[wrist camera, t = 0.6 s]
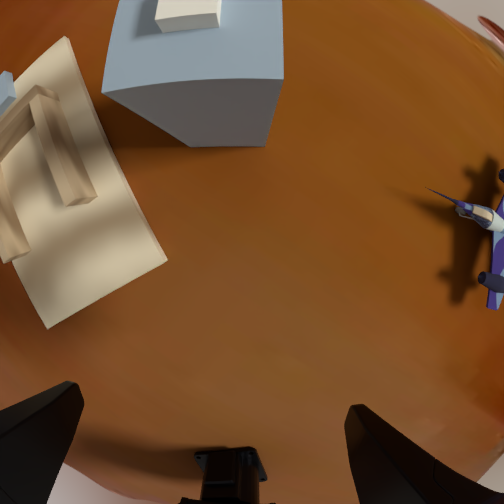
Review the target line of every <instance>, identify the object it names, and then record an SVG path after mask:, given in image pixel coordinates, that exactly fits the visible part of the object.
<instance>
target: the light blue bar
mask: <svg viewBox="0 0 504 504" xmlns="http://www.w3.org/2000/svg"><path fill="white" fill-rule="evenodd" d="M16 98H17V97H16V92H15V87H14V82H13V76H12V73H9V72H6V71H4V72H3V73H2V74H1V75H0V116H1V115H2V114H3V113H4V112H5V111H6V109H7V108H8V107H9V106H10V105H11V104H12V103H13V102H14V101H15V99H16Z"/></svg>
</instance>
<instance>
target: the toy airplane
mask: <svg viewBox="0 0 504 504" xmlns="http://www.w3.org/2000/svg"><path fill="white" fill-rule="evenodd" d="M499 179H500V180H501V181H502V182H503V183H504V169H501V170H500V172H499ZM425 188H426V187H425ZM427 189H428V188H427ZM429 190H431V189H429ZM431 191H433V190H431ZM433 192H435V191H433ZM435 193H437V194H439V195H441V196H443V197H445V198H447V199H449V200H451V201H452V202H454V203H455V204H456V205H458V206H459V207H456V208H455V211H456V212H457V213H459V216H461V217H465V218H469V219H473V220H475V221H476V222H477V223H478V224H479V225H480V226H481V227H482V228H485V229H488V230H489V231H490V232H492V254H491V269H490V273H488V272H481V273H480V274H479V276H478V282H479V283H480V284H482V285H484V286H485V287H487V288H488V297H487V305H486V307H487V308H489V309H493V310H497V309H498V308H499V305H500V302H501V300H502V297H503V294H504V195H503V197H502V199H501V201H500V203H499V205H498V207H497V209H496V211H495V212H494V211H493V210H492V209H491V208H488V207H484V206H480V205H475V204H470V203H465V202H462V201H459V200H455V199H452V198H449V197H447V196H445V195H443V194H440V193H438V192H435ZM466 213H467V214H468V215H470V216H471V217H472V218H470V217H466V216H462V215H465V214H466ZM461 214H462V215H461Z"/></svg>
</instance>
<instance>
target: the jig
mask: <svg viewBox="0 0 504 504" xmlns="http://www.w3.org/2000/svg"><path fill="white" fill-rule="evenodd" d="M14 87H15V92H16V97H17V98H16V99H15V101H14V102H13V103H12V104H11V105H10V106H9V107H8V108H7V109H6V111H5V112H4V113H3V114H2V115H1V116H0V256H1V259H2V261H3V263H4V264H5V263H7V262H10V261H12V263H13V265H14V267H15V270H16V272H17V274H18V276H19V278H20V280H21V282H22V284H23V286H24V288H25V290H26V292H27V294H28V296H29V298H30V300H31V302H32V303H33V305H34V307H35V309H36V311H37V312H38V314H39V316H40V318H41V319H42V321H43V323H44V324H45V326H46V328H47V329H49V328H50V327H52V326H54V325H55V324H57V323H59V322H61V321H62V320H64V319H66V318H67V317H69V316H71V315H72V314H74V313H76V312H78V311H79V310H81V309H83V308H84V307H86V306H88V305H90V304H91V303H93V302H95V301H97V300H98V299H100V298H102V297H104V296H105V295H107V294H109V293H111V292H112V291H114V290H116V289H118V288H119V287H121V286H123V285H125V284H127V283H128V282H130V281H132V280H134V279H136V278H137V277H139V276H141V275H143V274H145V273H146V272H148V271H150V270H152V269H154V268H156V267H157V266H159V265H161V264H163V263H165V262H166V261H167V260H168V259H167V257H166V256H165V254H164V252H163V250H162V248H161V247H160V245H159V243H158V241H157V239H156V237H155V235H154V234H153V232H152V230H151V228H150V226H149V224H148V222H147V220H146V218H145V216H144V215H143V213H142V211H141V209H140V207H139V205H138V203H137V201H136V199H135V197H134V195H133V193H132V191H131V189H130V187H129V185H128V182H127V180H126V178H125V176H124V174H123V172H122V170H121V168H120V166H119V164H118V161H117V159H116V157H115V155H114V153H113V150H112V148H111V146H110V144H109V141H108V139H107V137H106V135H105V132H104V130H103V128H102V125H101V123H100V121H99V118H98V116H97V113H96V111H95V109H94V106H93V104H92V101H91V99H90V96H89V94H88V91H87V88H86V86H85V83H84V81H83V78H82V75H81V72H80V70H79V67H78V64H77V61H76V59H75V56H74V53H73V50H72V47H71V44H70V41H69V39H68V38H67V37H65V36H64V37H62V38H61V39H60V40H59V41H58V42H56V43H55V44H54V45H53V46H52V47H50V48H49V49H48V50H47V51H46V52H45V53H44V54H43V55H41V56H40V57H39V58H38V59H37V60H36V61H35V62H34V63H33V64H32V65H31V66H30V67H29V68H28V69H27V70H26V71H25V72H24V73H23V74H22V75H21V76H20V77H19V78H18V79H17V80H16V81H15V82H14Z"/></svg>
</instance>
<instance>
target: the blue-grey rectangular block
mask: <svg viewBox="0 0 504 504" xmlns="http://www.w3.org/2000/svg"><path fill="white" fill-rule="evenodd" d="M283 80H284V69H283V22H282V0H120V1H119V5H118V9H117V12H116V16H115V20H114V25H113V29H112V34H111V38H110V43H109V48H108V53H107V59H106V65H105V71H104V78H103V85H102V94H104V95H106V96H108V97H109V98H111V99H113V100H115V101H116V102H118V103H120V104H121V105H123V106H125V107H126V108H128V109H130V110H131V111H133V112H135V113H136V114H138V115H140V116H141V117H143V118H145V119H146V120H148V121H150V122H151V123H153V124H154V125H156V126H158V127H159V128H161V129H162V130H164V131H166V132H167V133H169V134H170V135H172V136H174V137H175V138H177V139H178V140H180V141H181V142H183V143H185V144H186V145H188V146H189V147H214V146H259V147H265V144H266V141H267V137H268V133H269V130H270V126H271V122H272V119H273V115H274V112H275V108H276V105H277V101H278V98H279V94H280V90H281V87H282V83H283Z"/></svg>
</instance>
